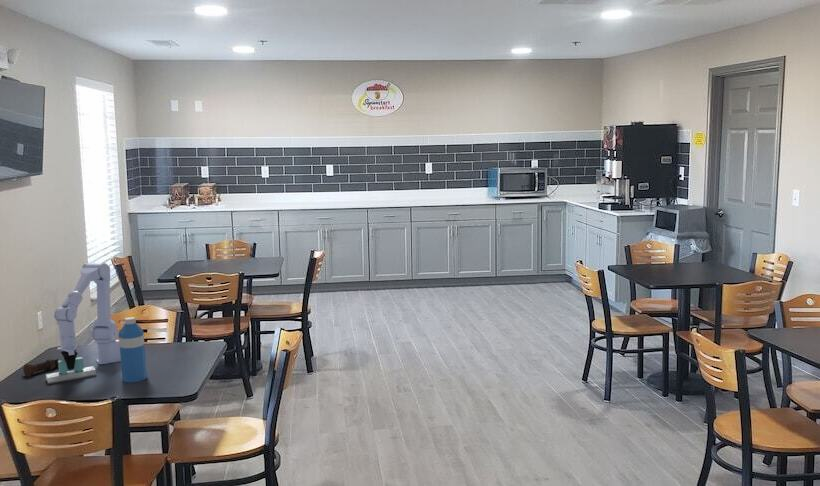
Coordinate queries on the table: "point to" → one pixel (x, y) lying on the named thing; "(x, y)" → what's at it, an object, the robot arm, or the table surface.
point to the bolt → (40, 367)
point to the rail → (70, 375)
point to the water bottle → (132, 351)
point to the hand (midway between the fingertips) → (70, 368)
